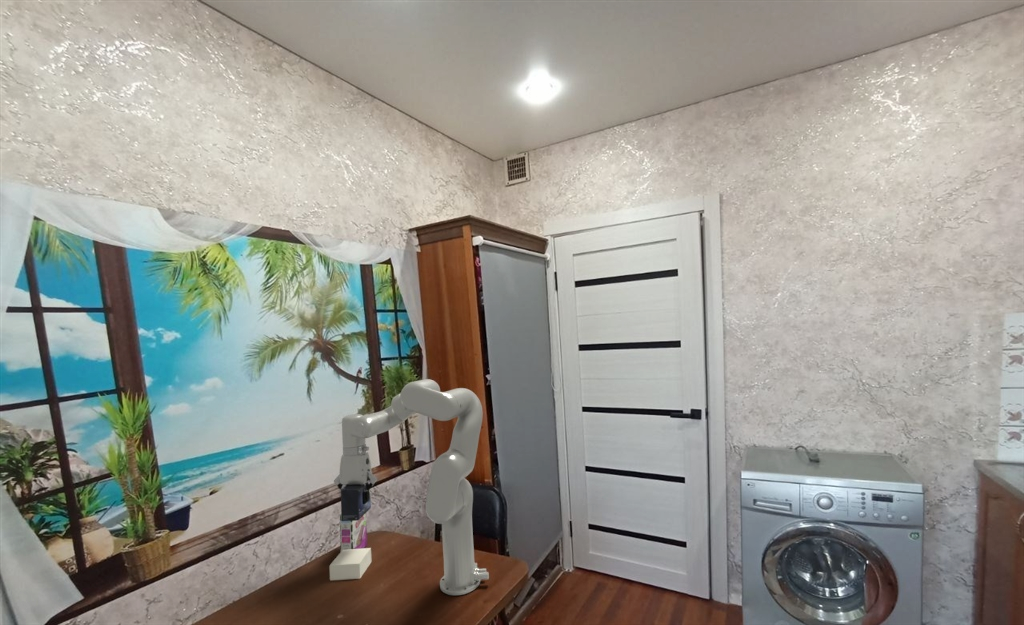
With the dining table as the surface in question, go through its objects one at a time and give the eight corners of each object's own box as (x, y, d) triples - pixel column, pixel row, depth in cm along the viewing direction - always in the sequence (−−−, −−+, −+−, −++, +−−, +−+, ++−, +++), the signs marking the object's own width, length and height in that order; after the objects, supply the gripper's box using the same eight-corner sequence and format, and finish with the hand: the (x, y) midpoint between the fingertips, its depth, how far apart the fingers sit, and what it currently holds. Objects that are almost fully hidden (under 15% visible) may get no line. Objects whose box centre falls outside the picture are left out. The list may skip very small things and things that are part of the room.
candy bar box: (353, 561, 141) (351, 513, 142) (340, 561, 142) (338, 514, 143) (368, 545, 152) (366, 501, 154) (355, 545, 153) (354, 501, 154)
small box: (359, 521, 133) (358, 488, 134) (340, 521, 133) (339, 489, 134) (372, 507, 143) (370, 478, 144) (354, 508, 144) (353, 479, 144)
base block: (371, 562, 140) (370, 547, 140) (360, 579, 130) (359, 563, 130) (343, 564, 140) (343, 549, 140) (330, 581, 130) (329, 565, 130)
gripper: (382, 446, 142) (384, 498, 141) (337, 448, 145) (339, 498, 143) (372, 452, 135) (374, 506, 134) (325, 454, 137) (327, 507, 136)
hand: (356, 502), depth 138 cm, fingers closed on small box, 6 cm apart
